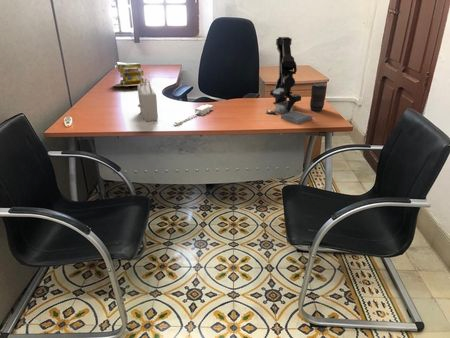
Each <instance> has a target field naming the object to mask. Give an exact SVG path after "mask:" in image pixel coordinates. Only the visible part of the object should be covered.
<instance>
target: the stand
mask: <svg viewBox="0 0 450 338" xmlns="http://www.w3.org/2000/svg"><path fill="white" fill-rule="evenodd" d="M280 119H282V120H285V121H287V122H290V123H293V124H297V125H299V124H302V123H306V122H308V121H312V120H313V116H312V115H308V114H306V113H303V112H301V111H296V110H295V111H294V110H293V112H291V113H287V114H284V115H282V114H280Z"/></svg>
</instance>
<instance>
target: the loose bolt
mask: <svg viewBox="0 0 450 338" xmlns="http://www.w3.org/2000/svg"><path fill="white" fill-rule="evenodd" d="M265 112H266V114H268V115H269V114H271V115H276V114H277V113H276V108H275V109H273V110H266V111H265Z"/></svg>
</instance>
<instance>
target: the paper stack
mask: <svg viewBox="0 0 450 338" xmlns="http://www.w3.org/2000/svg"><path fill="white" fill-rule="evenodd" d="M141 67H142V65H141V63H140V62H130V63H129V62H121V61H117V62H116V64H115V65H114V68H115V69H117V71H118V73H120V78H122V79H120V82H119V83H114V84H112V86H113V87H126V88H127V89H129V86H138V85H140V83H141V73H140V70H139V69H141ZM142 77H144V70H142ZM142 83H143V85H144V84H145V78H142ZM146 84H148V81H146Z"/></svg>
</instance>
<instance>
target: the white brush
mask: <svg viewBox="0 0 450 338" xmlns="http://www.w3.org/2000/svg"><path fill="white" fill-rule="evenodd" d="M213 108H214V106H213V105H212V104H205V105H204V104H202V105H200V106H199V107H196V108H195V109H194V111H195V112H194V113H193V114H190V115H189V116H187V117H185V118H183V119H182V120H176V121H174V123H173V126H180V125H182V123H183V122H184V121H187V120H189V119H190V118H192V117H194V116H196V115H200V116H204V115H206V114H207V113H209V112H210V111H211V110H212V109H213Z"/></svg>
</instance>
